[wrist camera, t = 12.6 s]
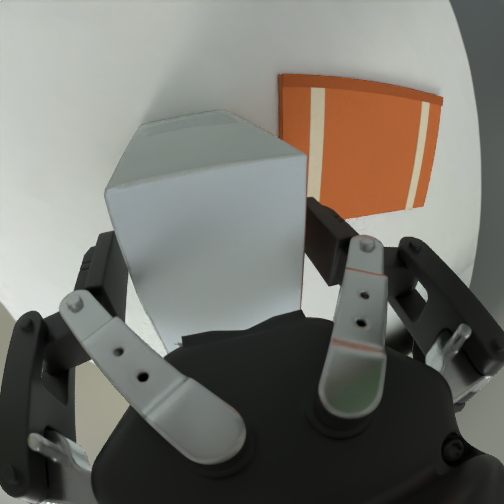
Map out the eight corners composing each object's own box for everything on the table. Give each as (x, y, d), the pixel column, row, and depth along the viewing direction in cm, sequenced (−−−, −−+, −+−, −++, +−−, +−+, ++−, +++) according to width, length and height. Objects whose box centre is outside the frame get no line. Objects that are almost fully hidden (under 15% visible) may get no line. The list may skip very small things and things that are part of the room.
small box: (236, 205, 23) (302, 327, 13) (159, 221, 22) (167, 361, 12) (226, 106, 18) (312, 151, 8) (137, 122, 17) (95, 192, 7)
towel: (278, 73, 18) (283, 73, 17) (436, 95, 21) (443, 97, 21) (278, 226, 25) (282, 231, 25) (419, 203, 29) (424, 207, 28)
